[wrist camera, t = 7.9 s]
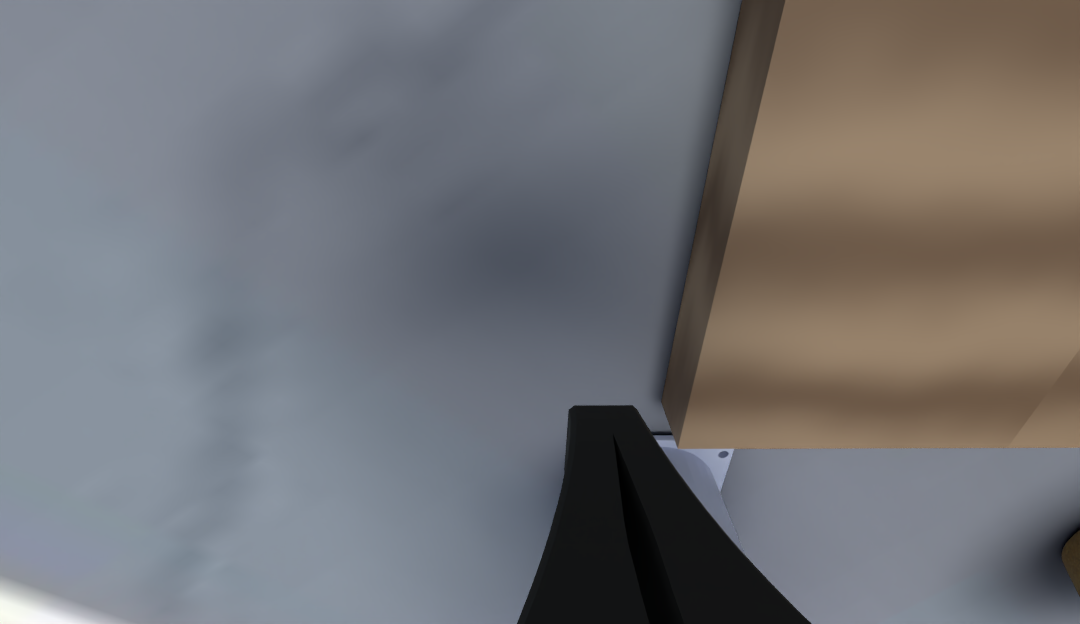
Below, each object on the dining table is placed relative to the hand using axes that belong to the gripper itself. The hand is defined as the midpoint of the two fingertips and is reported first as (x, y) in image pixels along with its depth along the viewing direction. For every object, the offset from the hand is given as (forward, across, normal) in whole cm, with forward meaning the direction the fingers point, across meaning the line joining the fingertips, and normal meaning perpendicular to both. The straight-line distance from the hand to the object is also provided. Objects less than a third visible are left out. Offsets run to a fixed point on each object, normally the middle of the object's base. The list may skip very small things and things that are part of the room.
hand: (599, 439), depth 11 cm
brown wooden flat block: (+10, -16, -1) cm, 19 cm away
